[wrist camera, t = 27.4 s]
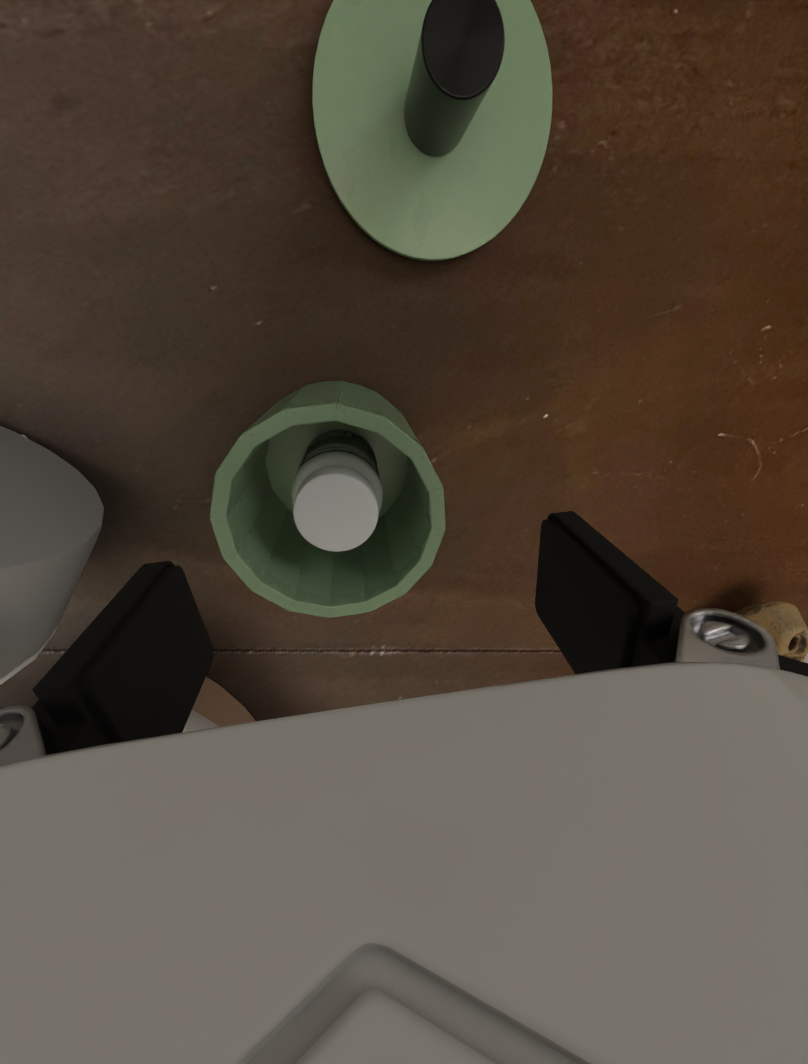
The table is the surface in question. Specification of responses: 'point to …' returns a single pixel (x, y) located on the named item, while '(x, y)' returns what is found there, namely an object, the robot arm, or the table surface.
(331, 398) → the cup
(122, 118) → the table surface
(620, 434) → the table surface
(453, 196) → the tin lid
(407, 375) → the table surface
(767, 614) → the oil lamp
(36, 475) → the alarm clock
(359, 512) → the pill bottle
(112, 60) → the table surface
